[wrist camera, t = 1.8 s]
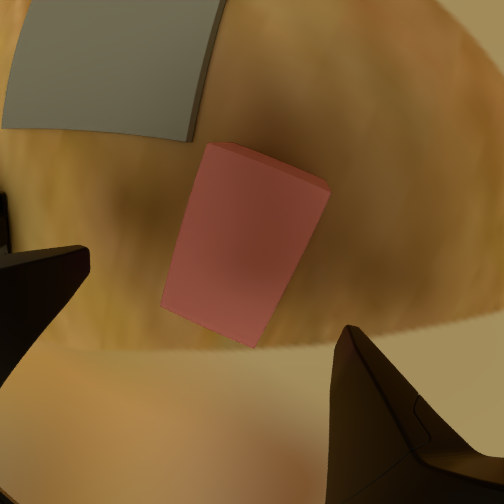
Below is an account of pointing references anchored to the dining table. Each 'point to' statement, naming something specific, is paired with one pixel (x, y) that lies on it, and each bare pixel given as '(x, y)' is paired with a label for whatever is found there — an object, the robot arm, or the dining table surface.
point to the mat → (112, 66)
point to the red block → (241, 240)
